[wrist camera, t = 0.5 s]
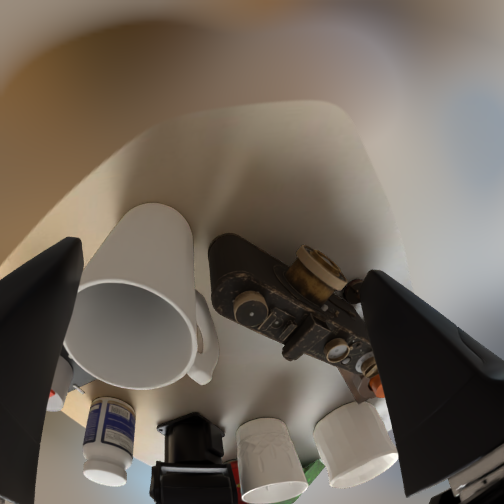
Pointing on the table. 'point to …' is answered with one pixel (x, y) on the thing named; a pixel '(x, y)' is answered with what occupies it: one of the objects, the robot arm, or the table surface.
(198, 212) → the table surface
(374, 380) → the switch button
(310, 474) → the carved green slab
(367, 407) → the cup
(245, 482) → the white cup
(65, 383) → the dial
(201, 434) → the robot arm
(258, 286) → the camera
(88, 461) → the pill bottle
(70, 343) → the mug
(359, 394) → the switch block
